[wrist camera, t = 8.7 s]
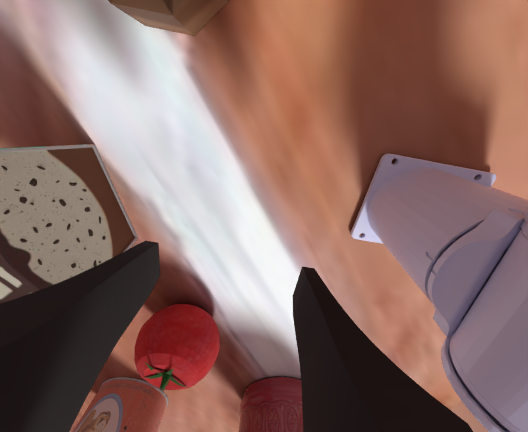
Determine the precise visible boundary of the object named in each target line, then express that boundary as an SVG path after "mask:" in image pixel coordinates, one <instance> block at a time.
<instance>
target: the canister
mask: <svg viewBox="0 0 528 432" xmlns="http://www.w3.org/2000/svg"><path fill="white" fill-rule="evenodd" d="M240 407H241V409H240V426H239V432H303V409H302V386H301V380H299V379H295V378H289V377H272V378H266V379H262V380H259V381H257V382H255V383H253V384H251V385H250V386H249V387H248V388H247V389H246V390H245V392H244V394H243V399H242V401H241V406H240Z"/></svg>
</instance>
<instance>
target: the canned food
mask: <svg viewBox="0 0 528 432" xmlns="http://www.w3.org/2000/svg"><path fill="white" fill-rule="evenodd" d="M167 405H168V398H167V396H166V394H165V393H164V392H163V391H162V390H160V388H158V387H156V386H154V385H152V384H150V383H149V382H146V381H143V380H140V379H136V378H129V377H116V378H111V379H108V380H106V381H105V382H103V383H102V385H101V386H100V389H99V391H98V392H97V394H96V395H95V397H94V399H93V400H92V402H91V403H90V405H89V407H88V408H87V410H86V411H85V413H84V415H83V416H82V418H81V419H80V421H79V423H78V424H77V426H76V427H75V429H74V431H73V432H157V431H158V428H159V425H160V422H161V420H162V417H163V414H164V411H165V409H166V407H167Z"/></svg>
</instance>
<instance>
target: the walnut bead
mask: <svg viewBox="0 0 528 432" xmlns="http://www.w3.org/2000/svg"><path fill="white" fill-rule="evenodd" d="M108 1H109V2H110V3H111V4H113V5H114V6H116V7H117V8H119V9H120V10H122V11H123V12H125V13H127V14H128V15H130V16H131V17H133V18H134V19H136V20H137V21H139V22H140V23H142V24H143V25H145V26H149V27H154V28H159V29H164V30H169V31H173V32H178V33H183V34H188V35H193V36H195V35H196V34H197V33H198V32H199V31H200V30H201V29H202V28H203V27H204V26H205V25H206V24H207V23H208V22H209V21H210V20H211V19H212V18H213V17H214V16H215V15H216V13H217V12H218V11H219V10H220V9H221V8H222V7H223V6H224V5H225V4H226V3H227V2H228V1H229V0H108Z"/></svg>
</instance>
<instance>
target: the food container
mask: <svg viewBox="0 0 528 432" xmlns="http://www.w3.org/2000/svg"><path fill="white" fill-rule="evenodd" d="M137 239H138V236H137V234H136V232H135V230H134V228H133V225H132V223H131V221H130V219H129V217H128V215H127V213H126V210H125V208H124V206H123V204H122V202H121V200H120V197H119V195H118V193H117V191H116V189H115V187H114V184H113V182H112V180H111V178H110V176H109V174H108V172H107V169H106V167H105V165H104V163H103V161H102V159H101V156H100V154H99V152H98V150H97V148H96V146H95V144H84V145H62V146H41V147H19V148H0V304H1V303H4V302H7V301H10V300H13V299H16V298H19V297H22V296H24V295H27V294H30V293H33V292H36V291H39V290H41V289H44V288H46V287H49V286H52V285H54V284H57V283H59V282H62V281H64V280H66V279H69V278H71V277H73V276H76V275H78V274H80V273H82V272H84V271H86V270H88V269H90V268H93V267H95V266H97V265H99V264H101V263H103V262H105V261H107V260H109V259H111V258H113V257H115V256H117V255H119V254H121V253H123V252H125V251H126V250H128V249H130V247H131V246H132V245H133V244H134V243H135V241H136V240H137Z"/></svg>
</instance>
